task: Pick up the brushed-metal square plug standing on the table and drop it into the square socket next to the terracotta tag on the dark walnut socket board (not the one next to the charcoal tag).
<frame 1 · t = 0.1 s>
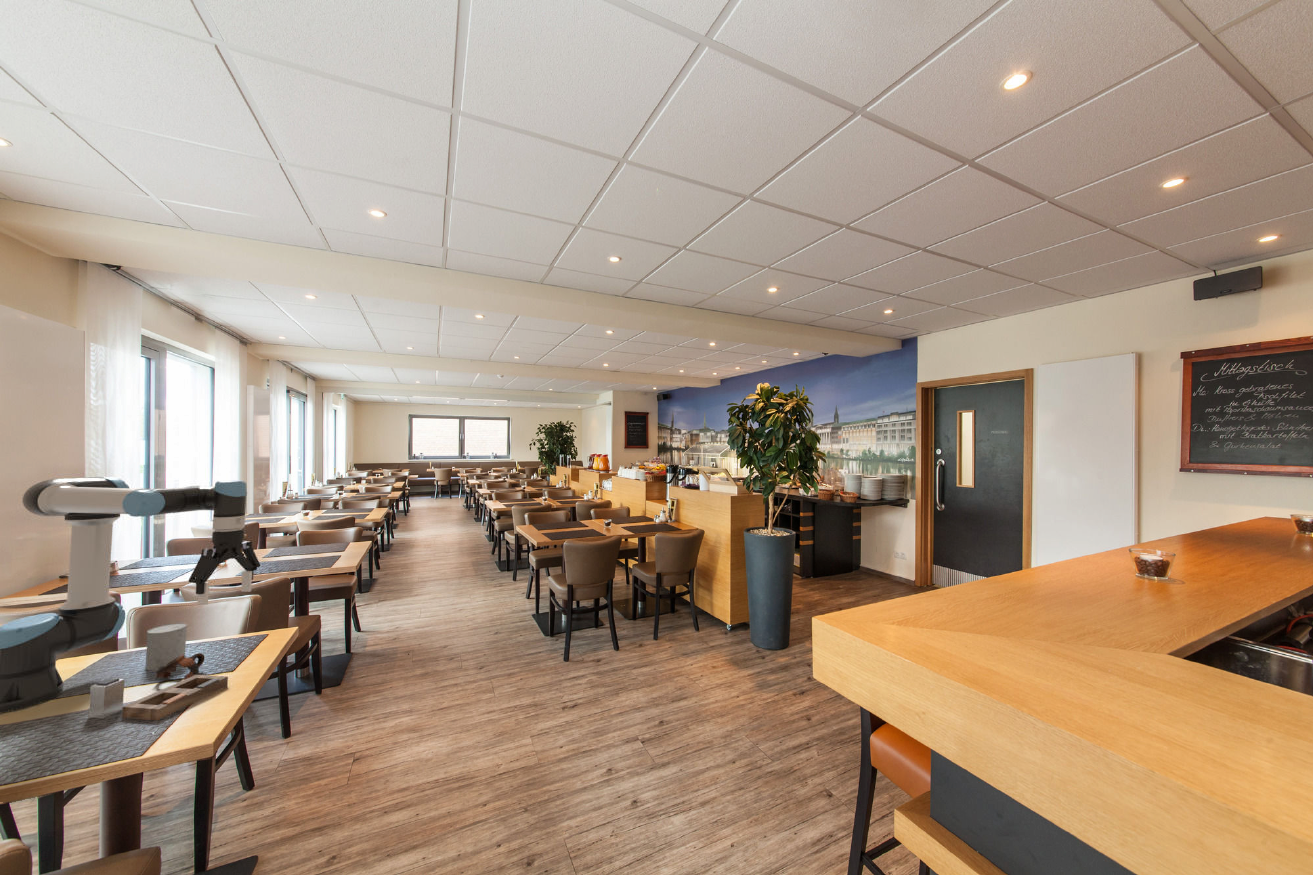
hand: (225, 597, 146), 28 cm above the table, fingers open, 13 cm apart
plug: (106, 713, 130), on the table
grey cylinder: (165, 664, 161), on the table
socket board: (178, 700, 137), on the table
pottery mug: (182, 678, 151), on the table
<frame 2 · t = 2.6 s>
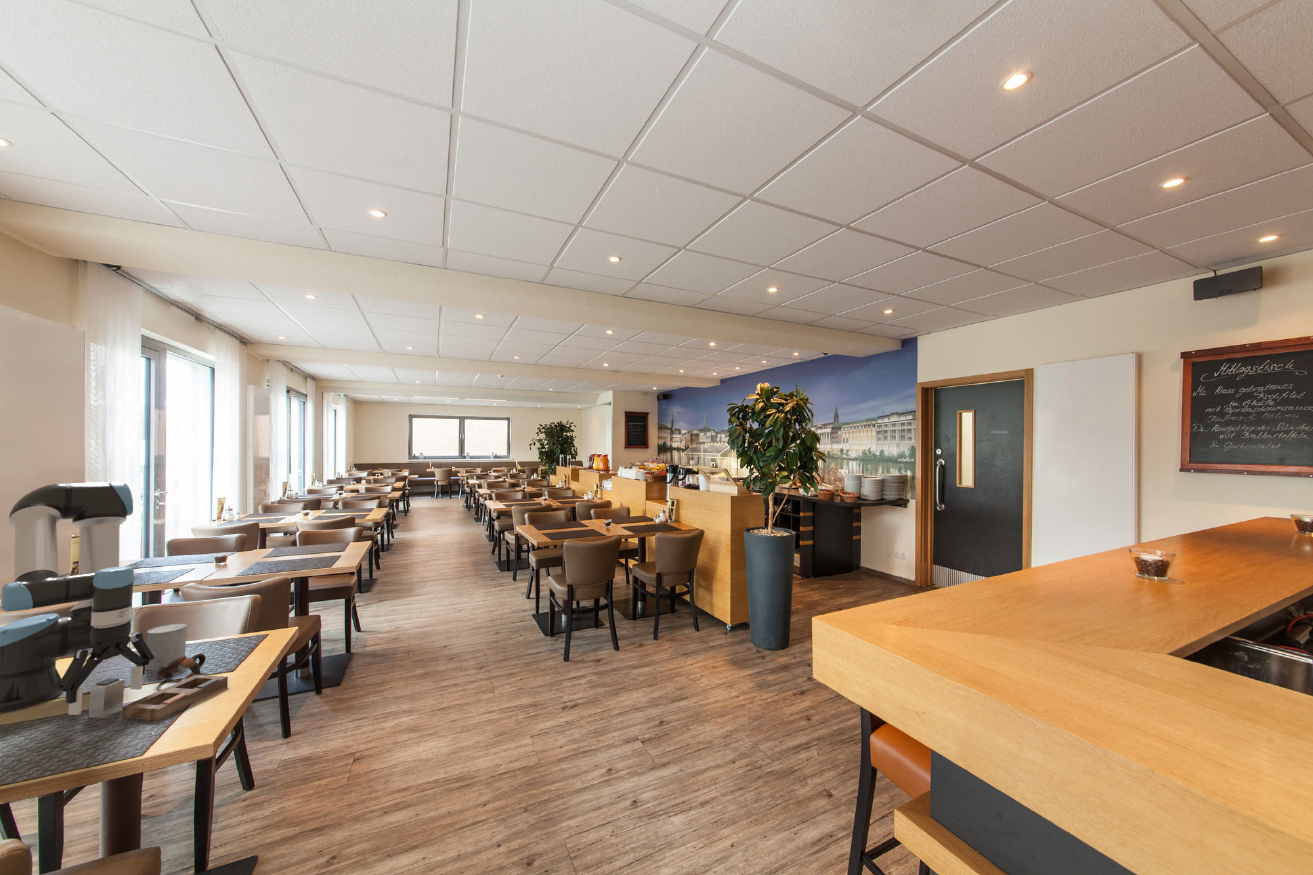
hand: (107, 700, 130), 4 cm above the table, fingers open, 13 cm apart
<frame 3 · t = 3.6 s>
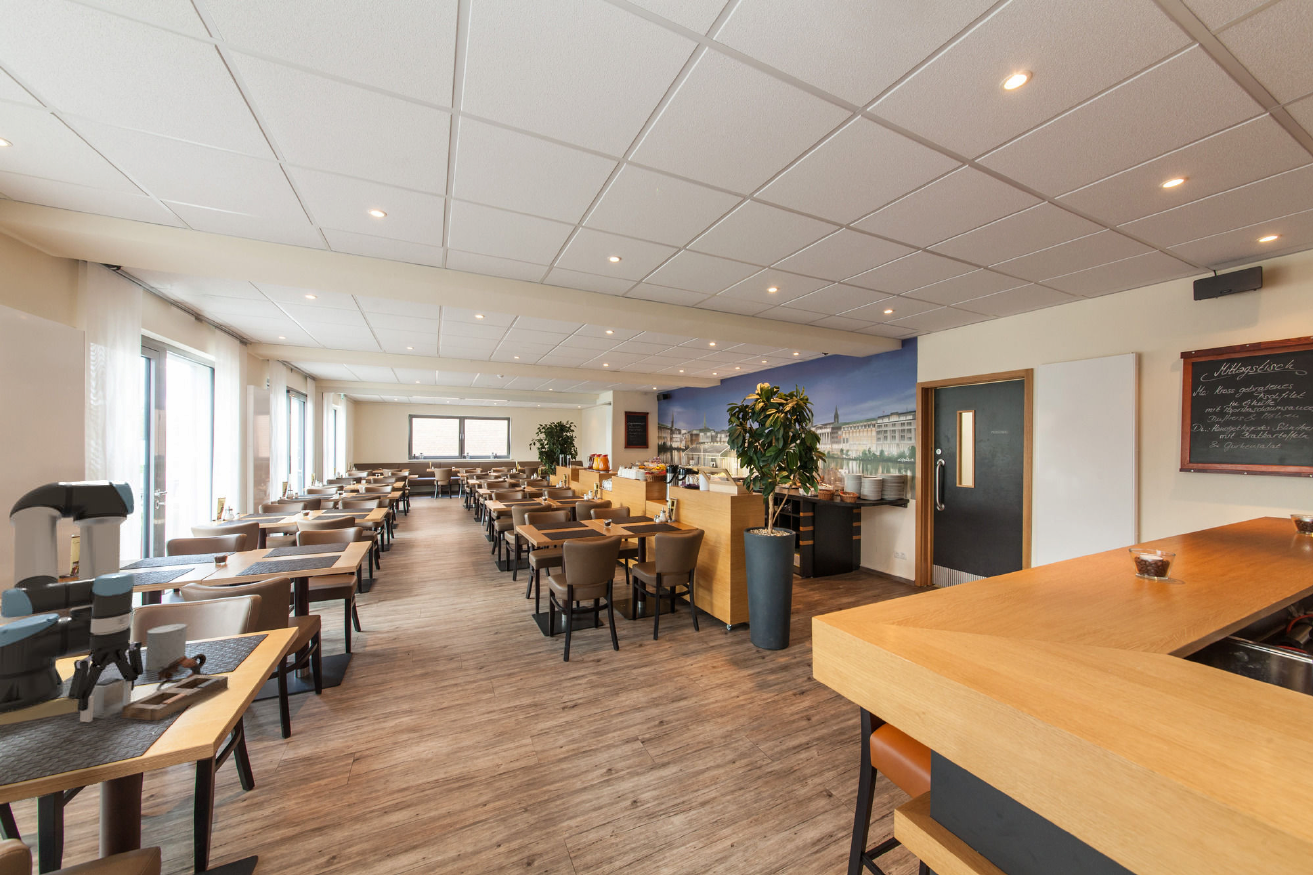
hand: (106, 712, 130), 0 cm above the table, fingers open, 8 cm apart
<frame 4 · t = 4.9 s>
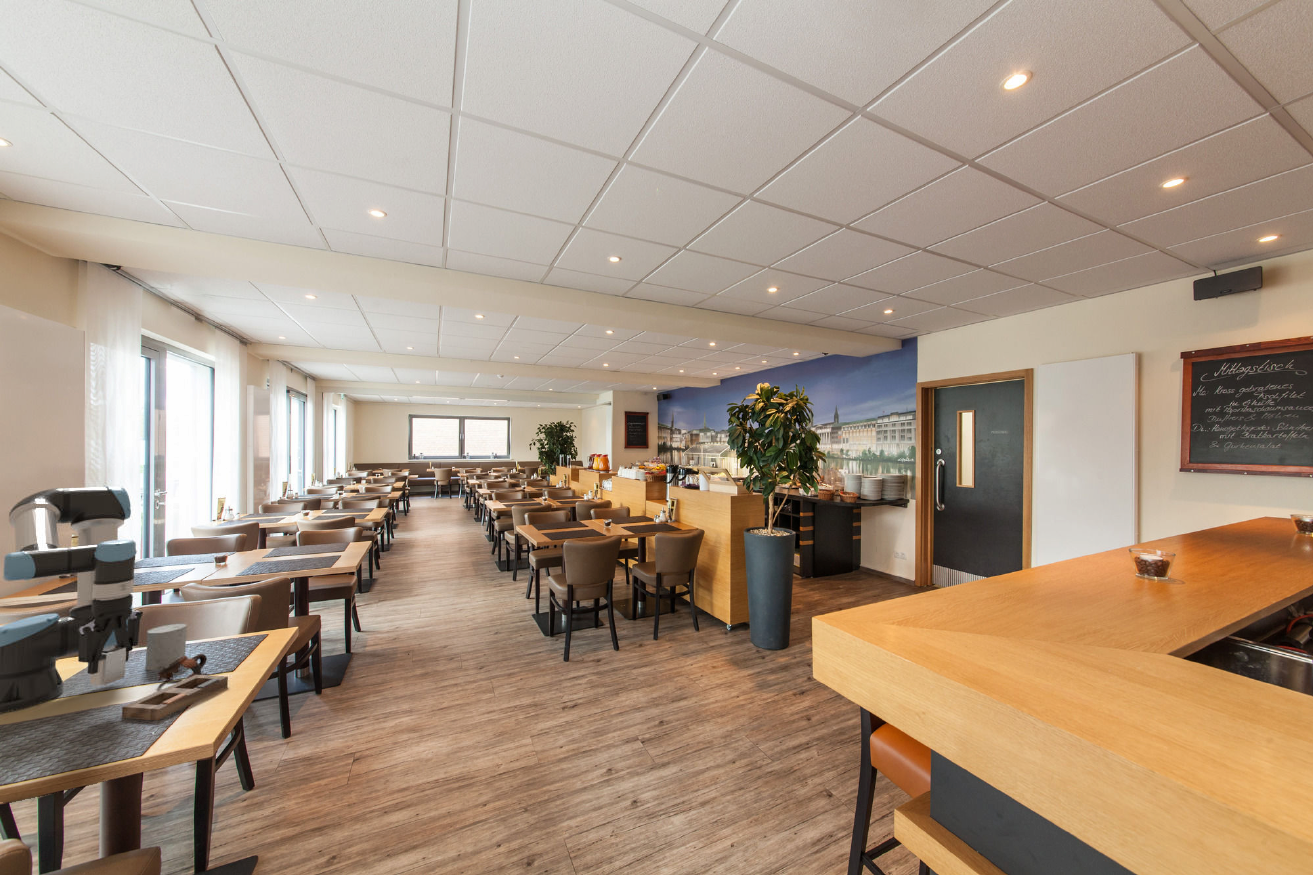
hand: (107, 679, 131), 9 cm above the table, fingers closed on plug, 4 cm apart
plug: (107, 680, 131), point 9 cm above the table, touching gripper
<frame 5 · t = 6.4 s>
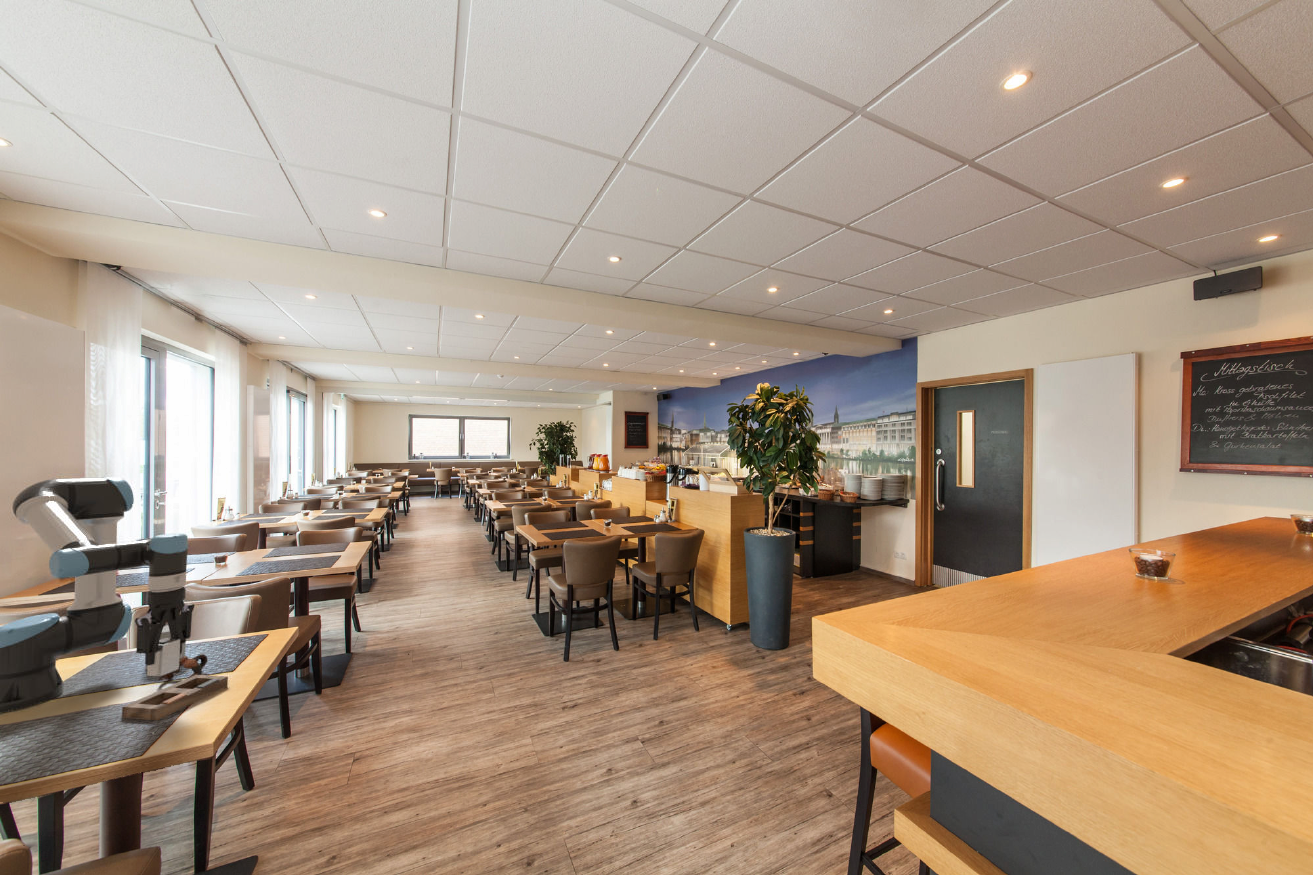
hand: (163, 670, 133), 11 cm above the table, fingers closed on plug, 4 cm apart
plug: (163, 672, 133), point 11 cm above the table, touching gripper
when the fingers open (5 cm above the table, at t = 8.3 s): plug drops 4 cm, resting in socket board.
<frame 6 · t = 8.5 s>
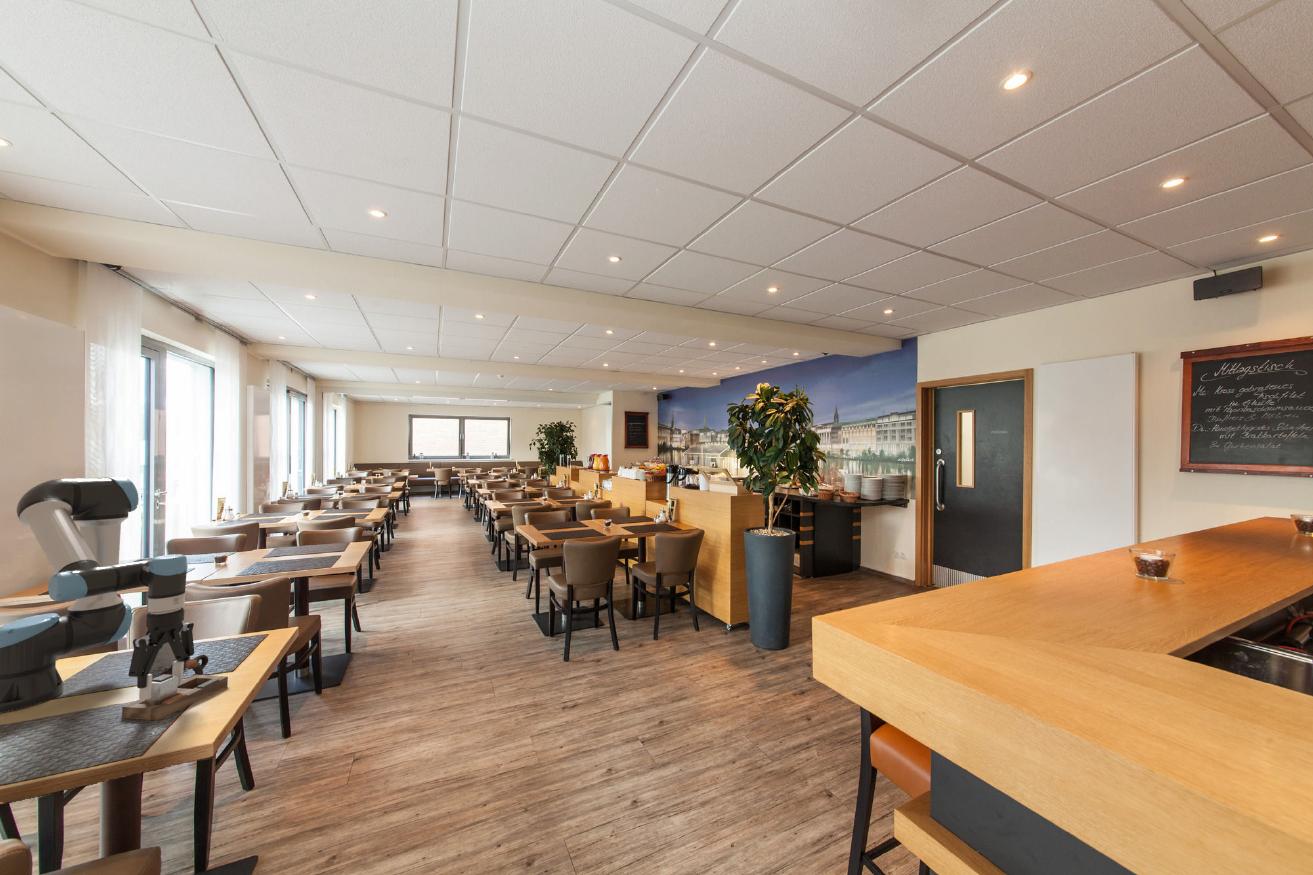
hand: (161, 690, 133), 5 cm above the table, fingers open, 7 cm apart
plug: (161, 709, 133), resting in socket board
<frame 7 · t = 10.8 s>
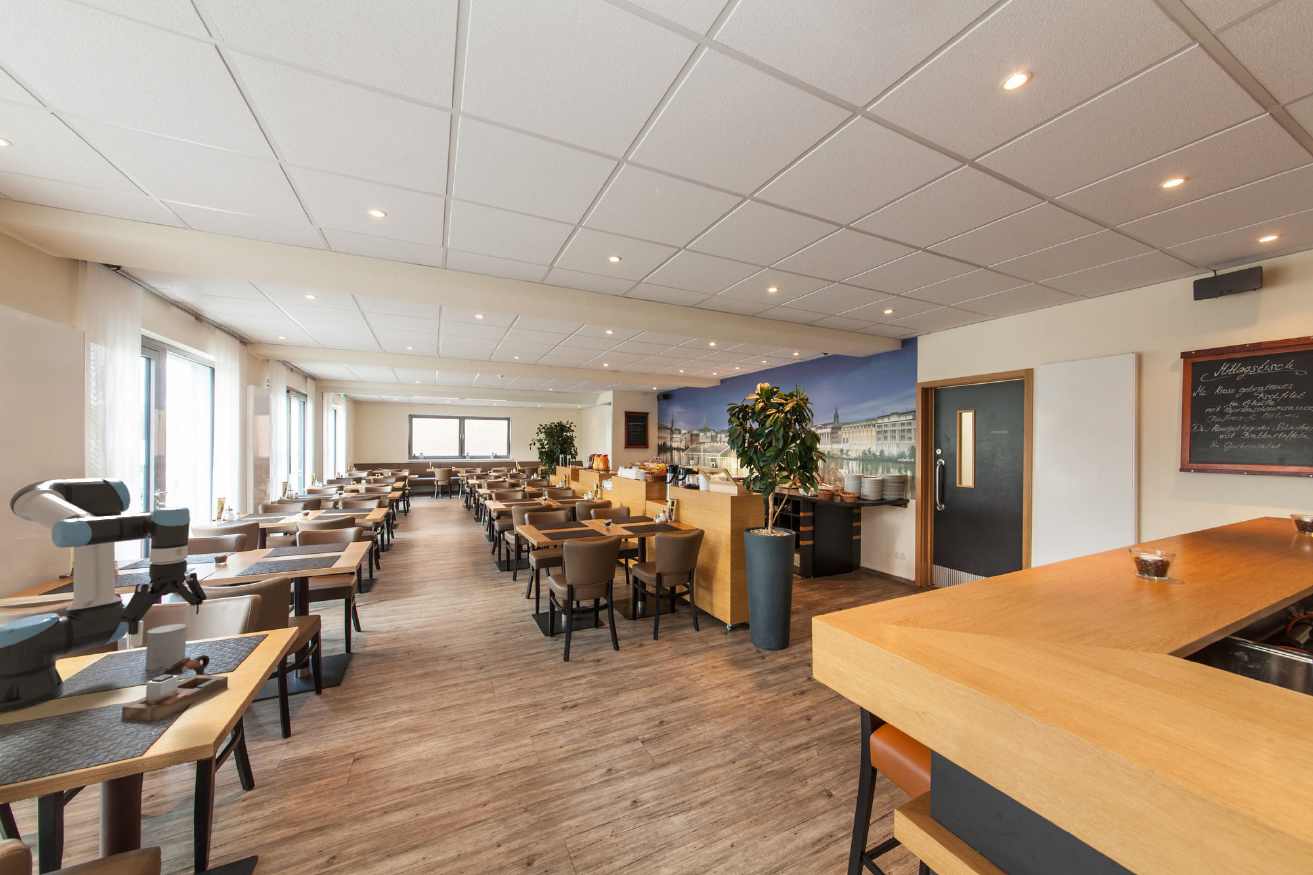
hand: (164, 635, 134), 21 cm above the table, fingers open, 13 cm apart
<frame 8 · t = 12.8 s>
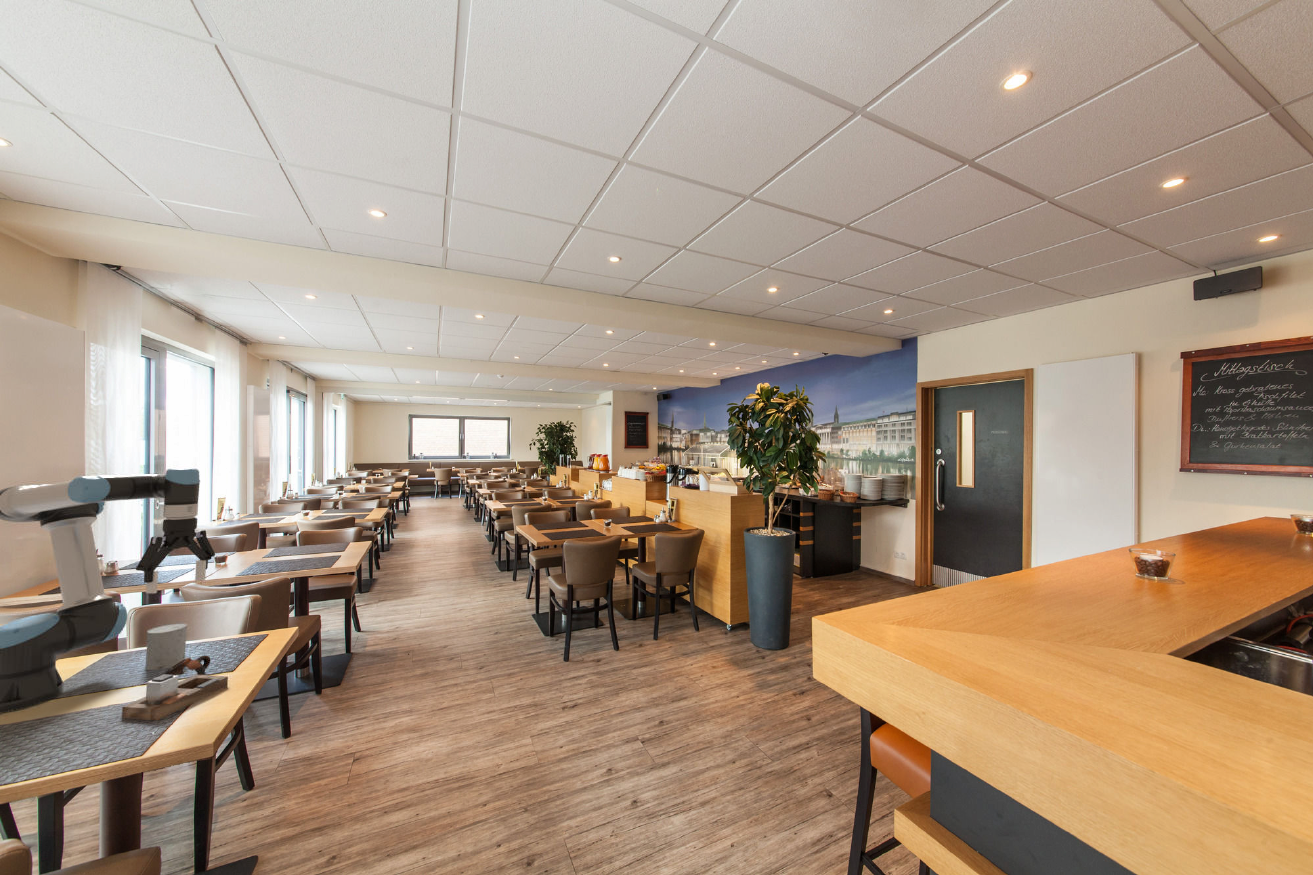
hand: (176, 586, 144), 32 cm above the table, fingers open, 13 cm apart
at the end: plug 0.1 cm from the target spot on the socket board, point 0.0 cm above the socket board's base; plug tilted 0°; plug touching table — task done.
